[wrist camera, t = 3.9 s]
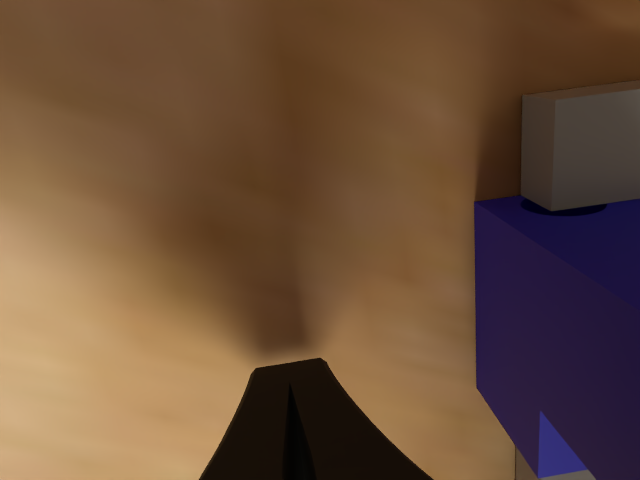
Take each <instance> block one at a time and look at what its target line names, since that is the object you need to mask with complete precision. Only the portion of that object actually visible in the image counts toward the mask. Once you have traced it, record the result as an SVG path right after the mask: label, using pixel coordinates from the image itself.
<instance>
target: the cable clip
mask: <svg viewBox="0 0 640 480" xmlns="http://www.w3.org/2000/svg"><path fill="white" fill-rule="evenodd" d="M474 222H475V303H476V384H477V389H478V390H479V392H480V393H481V395H482V396H483V398H484V399H485V401H486V402H487V404H488V405H489V407H490V408H491V410H492V411H493V413H494V414H495V416H496V417H497V419H498V420H499V422H500V423H501V425H502V426H503V428H504V429H505V431H506V432H507V433H508V435H509V436H510V438H511V439H512V441H513V442H514V444H515V445H516V447H517V448H518V450H519V451H520V453H521V454H522V456H523V457H524V459H525V460H526V462H527V463H528V465H529V466H530V468H531V469H532V471H533V472H534V474H535V475H536V477H537V478H538V479H539V478H544V477H550V476H555V475H561V474H566V473H572V472H577V471H583V470H589V471H590V473H591V474H592V475H593V476H594V478H595V479H596V480H640V199H633V200H626V201H620V202H613V203H606V204H599V205H592V206H585V207H578V208H571V209H565V210H558V211H550V210H548V209H546V208H544V207H542V206H540V205H538V204H536V203H534V202H532V201H531V200H529V199H527V198H525V197H523V196H521V195H519V196H512V197H505V198H498V199H491V200H484V201H477V202H474Z"/></svg>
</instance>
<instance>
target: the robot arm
mask: <svg viewBox="0 0 640 480" xmlns="http://www.w3.org/2000/svg"><path fill="white" fill-rule="evenodd" d="M199 480H434V479H432V478H431V477H430V476H429V475H427V474H426V473H425V472H424V471H423V470H421V469H420V468H419V467H418V466H417V465H416V464H414V463H413V462H412V461H411V460H410V459H409V458H408V457H407V456H405V455H404V454H403V453H402V452H401V451H400V450H399V449H398V448H397V447H396V446H395V445H394V444H393V443H392V442H391V441H390V440H389V439H388V438H387V437H386V436H385V435H384V434H383V433H382V432H381V431H380V430H379V429H378V428H377V427H376V426H375V425H374V424H373V423H372V422H371V421H370V419H369V418H368V417H367V416H366V415H365V414H364V413H363V412H362V410H361V409H360V408H359V407H358V406H357V405H356V404H355V402H354V401H353V400H352V399H351V398H350V396H349V395H348V394H347V392H346V391H345V390H344V388H343V387H342V386H341V385H340V383H339V382H338V380H337V379H336V377H335V376H334V374H333V373H332V371H331V370H330V368H329V366H328V364H327V362H326V361H324V360H323V359H321V358H315V359H309V360H303V361H297V362H291V363H285V364H279V365H273V366H266V367H260V368H256V369H255V370H254V371H253V372H252V374H251V375H250V378H249V381H248V384H247V387H246V390H245V392H244V395H243V397H242V399H241V402H240V404H239V406H238V408H237V410H236V413H235V415H234V417H233V419H232V421H231V423H230V425H229V427H228V429H227V431H226V433H225V435H224V437H223V439H222V441H221V443H220V444H219V446H218V448H217V450H216V452H215V453H214V455H213V457H212V458H211V460H210V462H209V463H208V465H207V467H206V468H205V470H204V472H203V473H202V475H201V477H200V479H199Z"/></svg>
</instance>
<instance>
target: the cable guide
mask: <svg viewBox="0 0 640 480" xmlns="http://www.w3.org/2000/svg"><path fill="white" fill-rule="evenodd" d="M521 196H523V197H525V198H527V199H529V200H531V201H532V202H534V203H536V204H538V205H540V206H542V207H544V208H546V209H548V210H550V211H558V210H565V209H571V208H578V207H585V206H592V205H599V204H606V203H613V202H620V201H626V200H633V199H640V80H635V81H627V82H620V83H612V84H604V85H596V86H588V87H580V88H573V89H565V90H557V91H549V92H541V93H533V94H526V95H522V144H521ZM516 480H596V479H595V478H594V476H593V475H592V474H591V473H590V471H589V470H583V471H577V472H572V473H566V474H561V475H555V476H550V477H544V478H539V479H538V478H537V477H536V475H535V474H534V472H533V471H532V469H531V468H530V466H529V465H528V463H527V462H526V460H525V459H524V457H523V456H522V454H521V453H520V451H519V450H518V448H517V447H516Z"/></svg>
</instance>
